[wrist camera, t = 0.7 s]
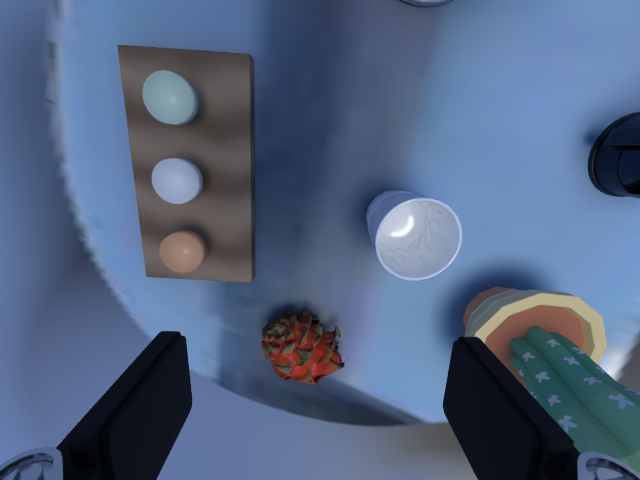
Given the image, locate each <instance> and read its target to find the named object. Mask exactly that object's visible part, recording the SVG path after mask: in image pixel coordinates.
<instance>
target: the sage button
mask: <svg viewBox="0 0 640 480" xmlns="http://www.w3.org/2000/svg"><path fill="white" fill-rule="evenodd" d="M142 94H143V101H144V104H145V106H146V108H147V110H148V111H149V113H150V114H151V115H152V116H153V117H154V118H156V119H157V120H159V121H161V122H163V123H167V124H173V125H184V124H187V123H189V122H190V121H191V120H193V118H194V117H195V116H196V114H197V111H198V107H199V100H198V95H197V93H196V90H195V89H194V87H193V86H192V84H191V83H190V82H189V81H188V80H186V79H185V78H183V77H181V76H179V75H177V74H175V73H173V72H171V71H166V70H161V71H156V72H154V73H152V74H151V75H150V76H149V77H148V78H147V79H146V81H145V83H144V85H143V92H142Z"/></svg>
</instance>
